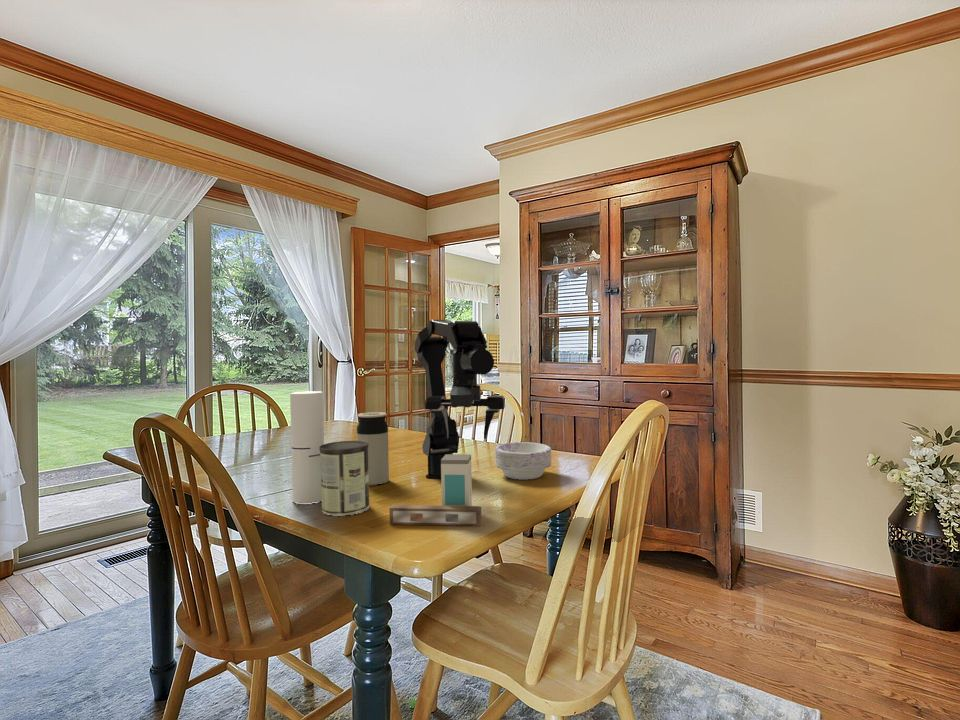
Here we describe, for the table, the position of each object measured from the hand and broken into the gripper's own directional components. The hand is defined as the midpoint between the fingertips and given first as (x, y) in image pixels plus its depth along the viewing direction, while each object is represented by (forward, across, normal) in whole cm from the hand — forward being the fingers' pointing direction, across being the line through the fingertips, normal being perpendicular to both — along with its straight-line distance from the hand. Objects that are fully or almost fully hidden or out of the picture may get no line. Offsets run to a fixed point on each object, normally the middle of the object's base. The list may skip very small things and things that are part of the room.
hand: (466, 438), depth 120 cm
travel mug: (+13, -26, +9) cm, 30 cm away
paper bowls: (+13, +13, +17) cm, 25 cm away
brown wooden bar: (+13, -3, -22) cm, 26 cm away
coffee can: (+13, -25, -14) cm, 31 cm away
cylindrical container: (+13, -36, -8) cm, 39 cm away
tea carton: (+13, 0, -16) cm, 21 cm away
